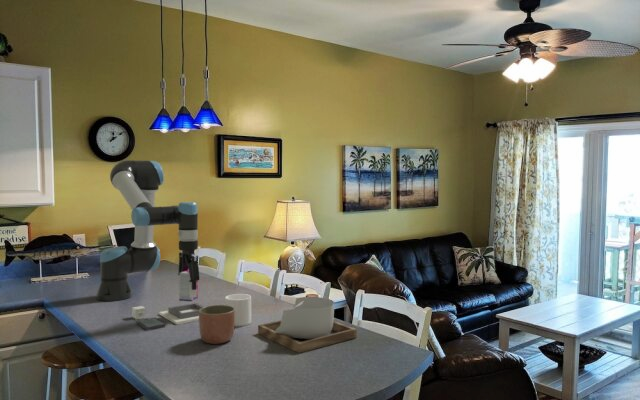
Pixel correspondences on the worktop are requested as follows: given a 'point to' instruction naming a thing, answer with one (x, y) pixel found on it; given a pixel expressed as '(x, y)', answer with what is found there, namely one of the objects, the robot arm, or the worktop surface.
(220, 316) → the planter
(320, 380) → the worktop surface
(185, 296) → the supplement box
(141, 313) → the white cube
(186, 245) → the robot arm
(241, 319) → the mug
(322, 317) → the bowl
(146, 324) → the phone
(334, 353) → the worktop surface
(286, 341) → the wooden tray
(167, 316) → the plate
